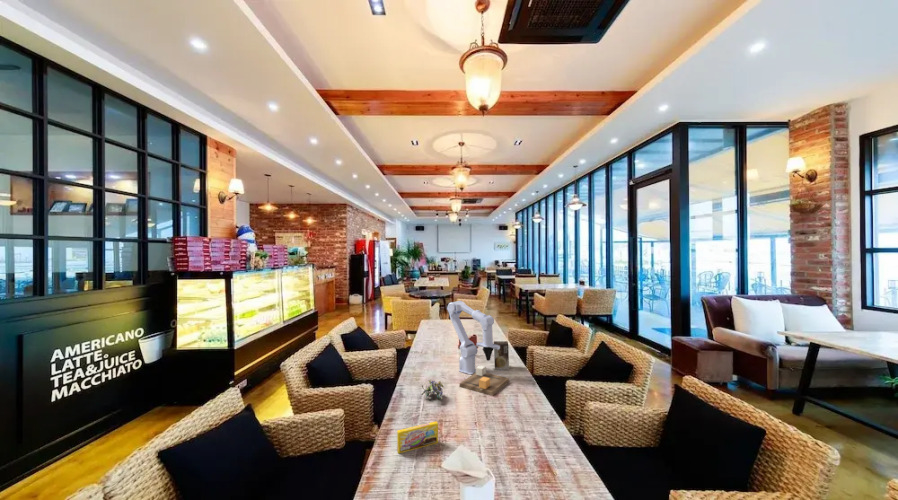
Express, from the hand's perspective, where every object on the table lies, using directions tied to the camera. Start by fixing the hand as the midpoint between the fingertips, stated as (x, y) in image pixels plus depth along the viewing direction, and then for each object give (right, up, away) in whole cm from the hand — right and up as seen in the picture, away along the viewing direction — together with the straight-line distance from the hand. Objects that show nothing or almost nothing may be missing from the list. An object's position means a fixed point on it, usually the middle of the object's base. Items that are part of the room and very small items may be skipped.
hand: (488, 359), depth 192 cm
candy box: (-35, -12, -65) cm, 75 cm away
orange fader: (-4, -8, -18) cm, 20 cm away
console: (-3, -11, -9) cm, 14 cm away
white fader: (-4, -8, 0) cm, 9 cm away
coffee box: (+10, -10, +15) cm, 21 cm away
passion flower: (-32, -12, -25) cm, 42 cm away
